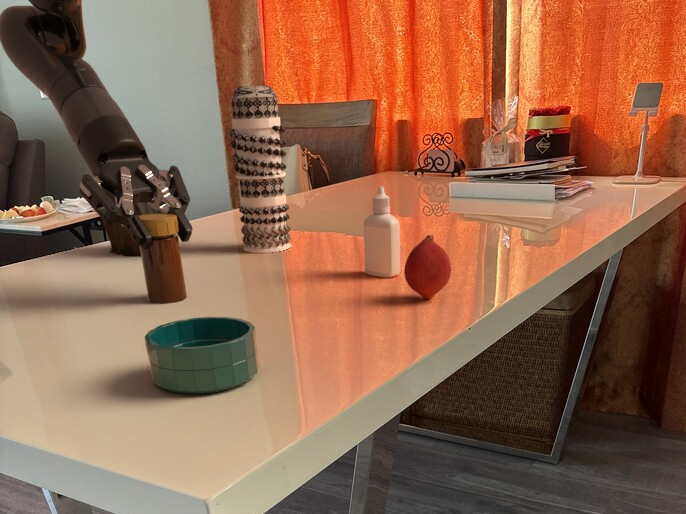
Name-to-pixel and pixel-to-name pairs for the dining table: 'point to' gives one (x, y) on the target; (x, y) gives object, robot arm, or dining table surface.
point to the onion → (427, 268)
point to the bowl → (202, 354)
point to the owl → (120, 235)
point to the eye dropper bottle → (382, 239)
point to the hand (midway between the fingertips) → (167, 240)
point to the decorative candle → (260, 169)
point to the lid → (160, 224)
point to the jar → (164, 270)
